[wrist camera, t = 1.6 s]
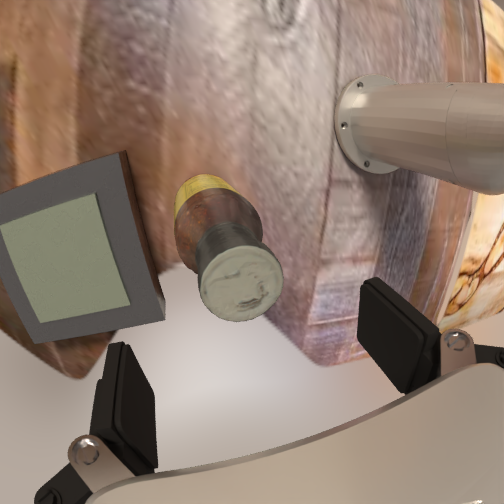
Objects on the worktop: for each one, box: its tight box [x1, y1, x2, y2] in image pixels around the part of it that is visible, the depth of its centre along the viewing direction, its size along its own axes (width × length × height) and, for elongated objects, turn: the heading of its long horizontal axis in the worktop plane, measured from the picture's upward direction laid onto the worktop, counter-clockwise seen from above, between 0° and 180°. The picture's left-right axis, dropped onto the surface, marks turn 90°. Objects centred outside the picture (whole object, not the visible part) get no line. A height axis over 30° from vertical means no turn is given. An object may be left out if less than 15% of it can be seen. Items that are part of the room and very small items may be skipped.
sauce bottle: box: [174, 174, 284, 322], centre depth 23 cm, size 7×6×20 cm
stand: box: [0, 150, 165, 344], centre depth 28 cm, size 18×18×4 cm
